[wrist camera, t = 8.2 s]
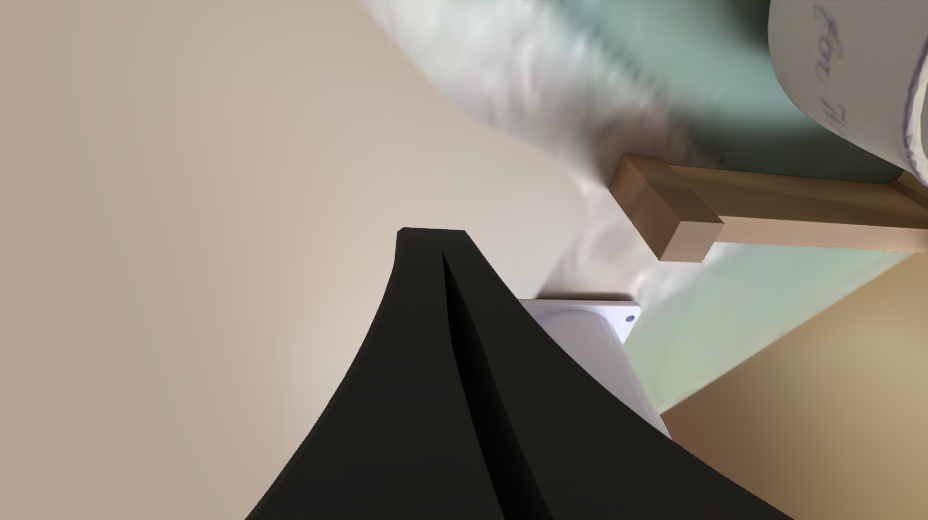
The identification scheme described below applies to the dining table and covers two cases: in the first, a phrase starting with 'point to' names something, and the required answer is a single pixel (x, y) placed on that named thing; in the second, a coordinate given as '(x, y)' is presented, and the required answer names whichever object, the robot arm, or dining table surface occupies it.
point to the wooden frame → (765, 209)
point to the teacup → (858, 71)
